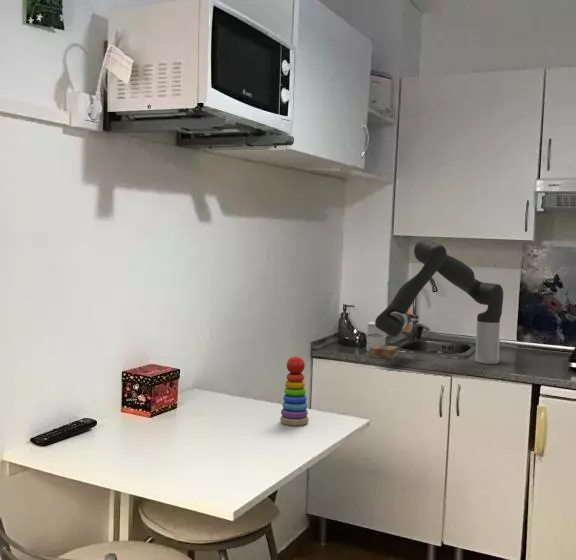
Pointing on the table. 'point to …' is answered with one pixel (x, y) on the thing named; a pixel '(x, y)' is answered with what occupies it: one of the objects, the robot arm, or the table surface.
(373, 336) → the supplement box
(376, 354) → the base
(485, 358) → the robot arm
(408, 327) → the orange tan block
